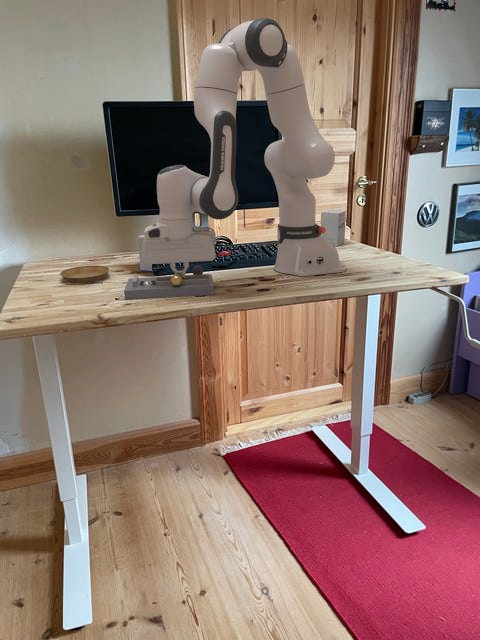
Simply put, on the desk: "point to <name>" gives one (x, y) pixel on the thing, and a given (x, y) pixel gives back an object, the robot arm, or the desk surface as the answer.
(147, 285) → the steel ball
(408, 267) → the desk surface
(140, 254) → the supplement box
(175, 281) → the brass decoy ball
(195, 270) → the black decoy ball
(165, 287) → the board
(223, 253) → the race car
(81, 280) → the plant saucer
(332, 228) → the supplement box
